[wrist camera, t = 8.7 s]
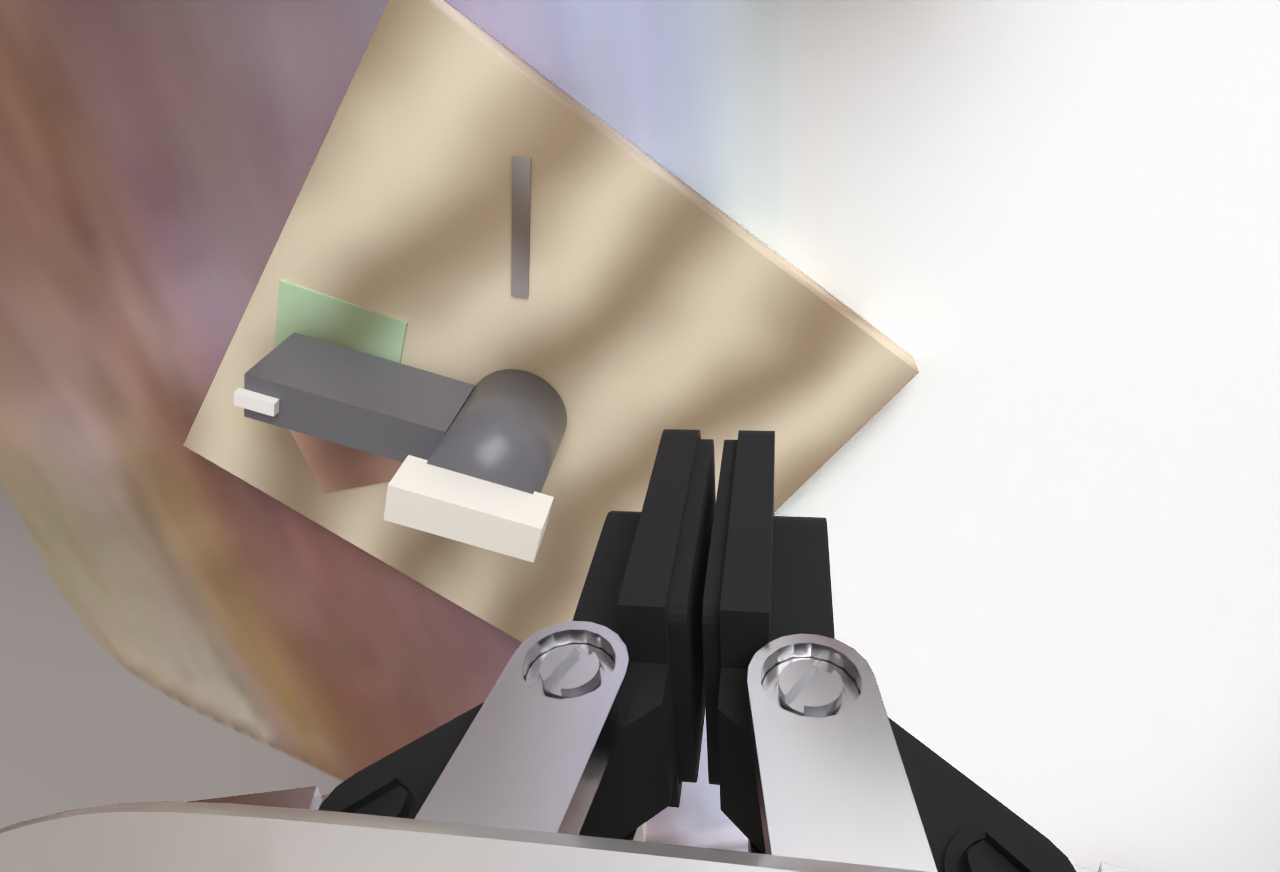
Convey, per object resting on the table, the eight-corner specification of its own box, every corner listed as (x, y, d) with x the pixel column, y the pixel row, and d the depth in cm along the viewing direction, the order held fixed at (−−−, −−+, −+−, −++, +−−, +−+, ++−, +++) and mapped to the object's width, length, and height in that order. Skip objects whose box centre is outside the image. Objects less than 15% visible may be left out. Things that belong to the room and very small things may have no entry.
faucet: (590, 390, 35) (550, 498, 28) (568, 471, 37) (526, 590, 30) (293, 303, 35) (179, 391, 28) (290, 390, 37) (183, 492, 30)
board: (912, 356, 34) (919, 374, 33) (599, 664, 46) (594, 687, 44) (413, -23, 29) (396, -21, 28) (201, 429, 41) (181, 447, 39)
